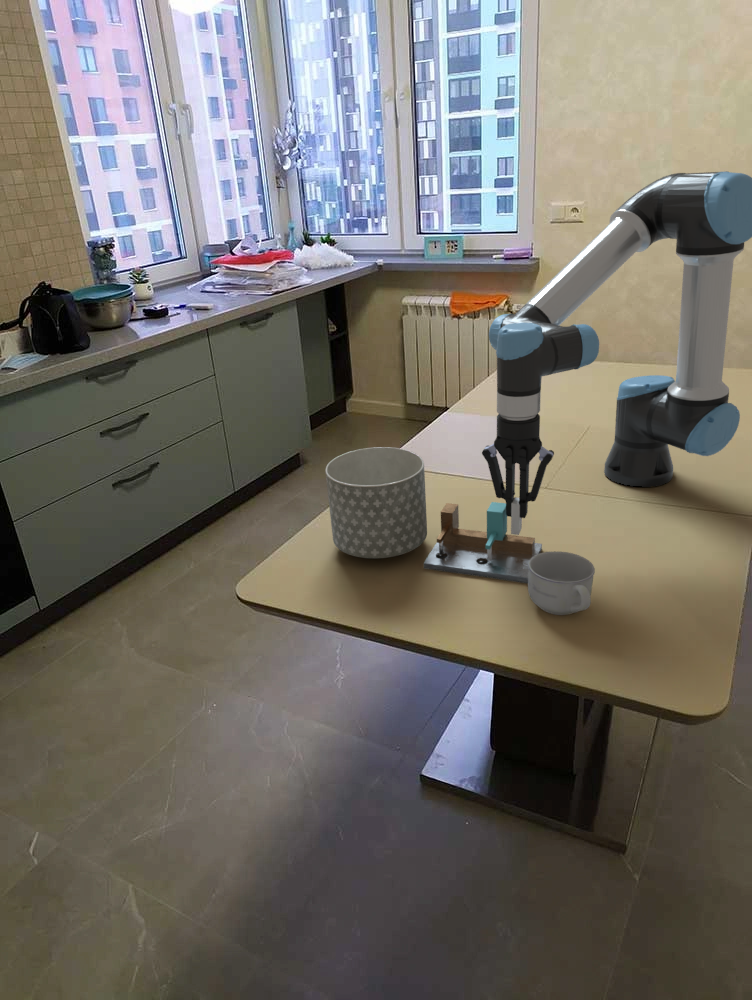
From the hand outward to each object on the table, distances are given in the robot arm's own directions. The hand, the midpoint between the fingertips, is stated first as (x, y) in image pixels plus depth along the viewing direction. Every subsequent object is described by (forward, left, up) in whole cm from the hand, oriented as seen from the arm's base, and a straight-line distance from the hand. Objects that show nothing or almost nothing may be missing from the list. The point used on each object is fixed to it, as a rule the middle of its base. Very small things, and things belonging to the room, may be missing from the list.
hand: (516, 531), depth 137 cm
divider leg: (+4, +3, -4) cm, 6 cm away
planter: (+27, +4, -6) cm, 28 cm away
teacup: (-11, +16, -6) cm, 20 cm away
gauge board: (+6, +3, -5) cm, 8 cm away
